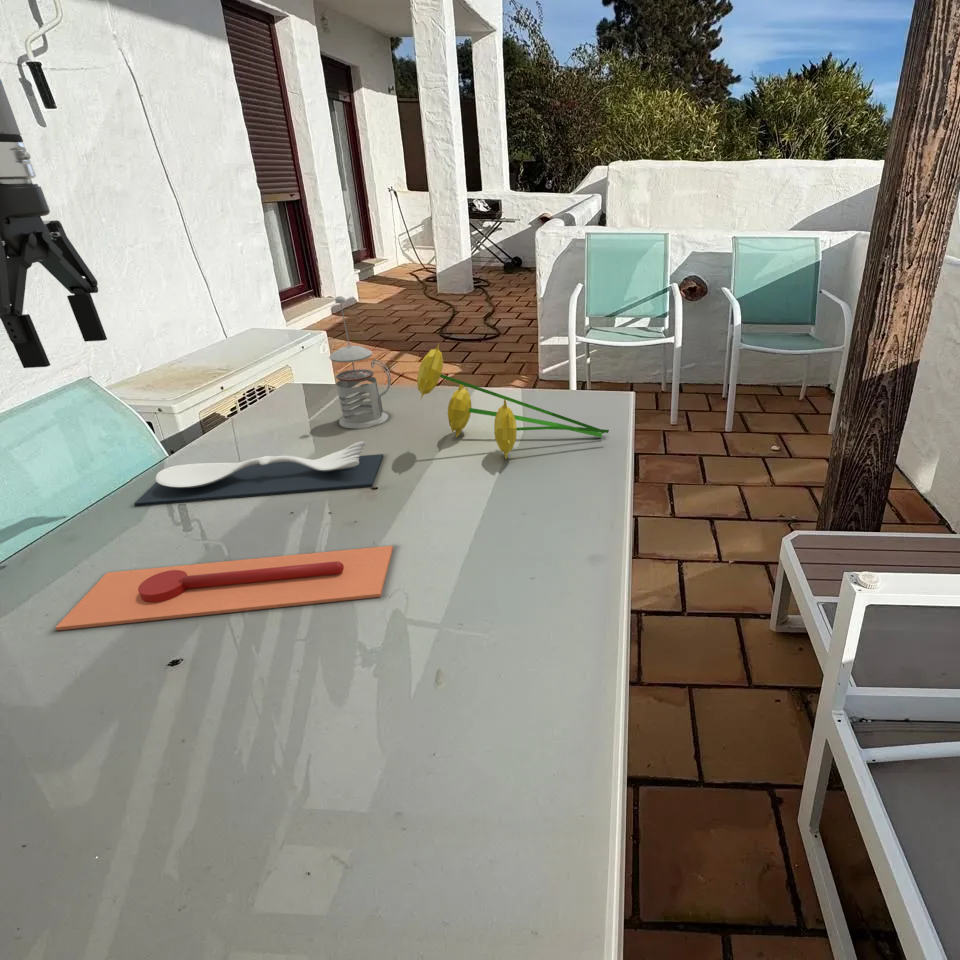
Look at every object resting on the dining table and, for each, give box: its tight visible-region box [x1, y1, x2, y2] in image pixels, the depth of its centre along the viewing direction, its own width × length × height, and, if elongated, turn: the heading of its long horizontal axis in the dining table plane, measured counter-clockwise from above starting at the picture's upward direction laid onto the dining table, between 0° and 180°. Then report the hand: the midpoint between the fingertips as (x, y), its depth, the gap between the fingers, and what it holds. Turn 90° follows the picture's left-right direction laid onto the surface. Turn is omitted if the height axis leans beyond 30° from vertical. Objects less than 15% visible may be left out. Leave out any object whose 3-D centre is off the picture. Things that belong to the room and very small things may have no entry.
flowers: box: [416, 342, 610, 461], centre depth 117 cm, size 16×22×35 cm
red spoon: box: [138, 561, 344, 603], centre depth 79 cm, size 24×5×2 cm, turn 99°
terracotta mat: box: [55, 545, 394, 631], centre depth 80 cm, size 36×11×1 cm, turn 99°
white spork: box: [155, 440, 366, 488], centre depth 106 cm, size 9×32×4 cm, turn 101°
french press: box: [328, 295, 392, 429], centre depth 126 cm, size 10×12×25 cm
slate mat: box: [133, 453, 384, 507], centre depth 107 cm, size 36×12×1 cm, turn 99°
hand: (68, 352), depth 87 cm, fingers open, 13 cm apart
